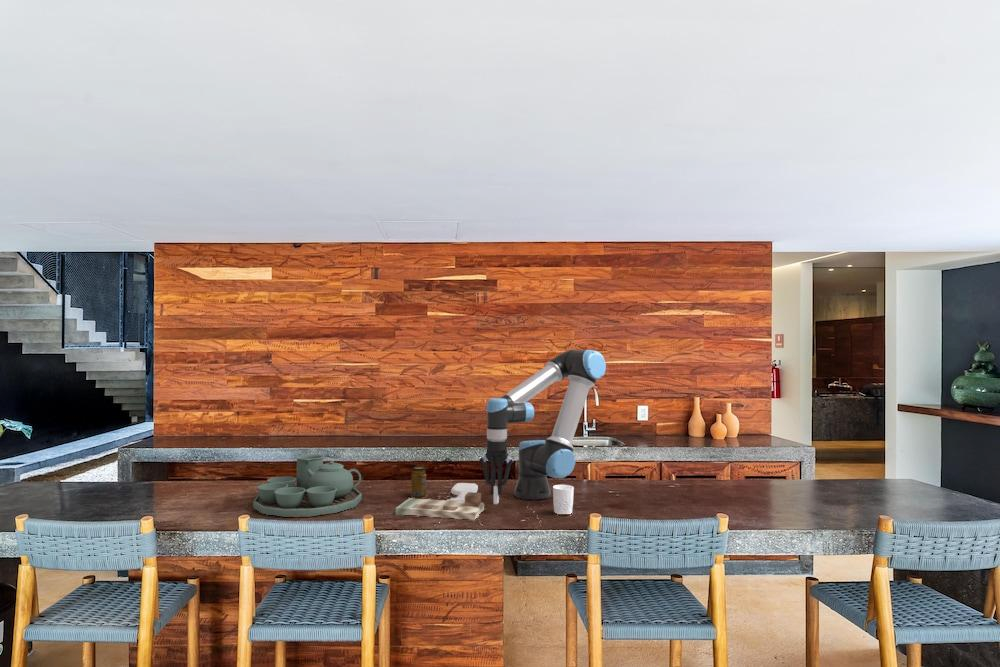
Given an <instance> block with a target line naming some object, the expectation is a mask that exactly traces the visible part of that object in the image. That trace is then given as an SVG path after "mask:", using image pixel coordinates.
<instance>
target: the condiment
mask: <svg viewBox="0 0 1000 667" xmlns="http://www.w3.org/2000/svg"><path fill="white" fill-rule="evenodd" d="M410 478H411V481H410V482H411V483H410V484H411V486H410V495H411V497H415V498H422V497H425V495H426V494H427V493H426V492H427V474H426V467H424V466H414V467H412V474H411V476H410ZM426 496H427V495H426ZM425 498H426V497H425Z"/></svg>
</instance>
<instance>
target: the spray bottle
mask: <svg viewBox="0 0 1000 667" xmlns="http://www.w3.org/2000/svg"><path fill="white" fill-rule="evenodd" d="M478 486H479V485H477V484H476V483H473V482H472V483H470V482H469V483H468V482H457V483H456V484H455V485H453V486H452V487H451V490H450V493H452V494H454V495H453V496H455V495H458V496H456V497H450V499H448V498H447V499H446V500H447V501H463V502H465V495H466V494H467V493H468V492H471V493H478V491H479V490H478V489H479V487H478ZM452 494H451V495H452Z"/></svg>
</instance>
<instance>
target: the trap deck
mask: <svg viewBox="0 0 1000 667" xmlns="http://www.w3.org/2000/svg"><path fill="white" fill-rule="evenodd" d="M484 510H485V502H481V504H480V505H479V506H478V507H469V506H465V502H463V501H447V499H446V500H443V499H432V498H428V499H416V498H410V497H408V499H406V500H405V501H403V502H402V503H401V504H399V505H397V507H395V516H404V515H417V516H416V517H419V516H429V517H428V518H433V517H441V518H440V519H448V518H454V519H453V520H462V519H469V520H468V521H476V520H477V519H478V518H479V517H480V515H481V514H482V513H483V511H484ZM481 512H482V513H481ZM480 513H481V514H480ZM479 514H480V515H479ZM476 518H477V519H476ZM475 519H476V520H475Z"/></svg>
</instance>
